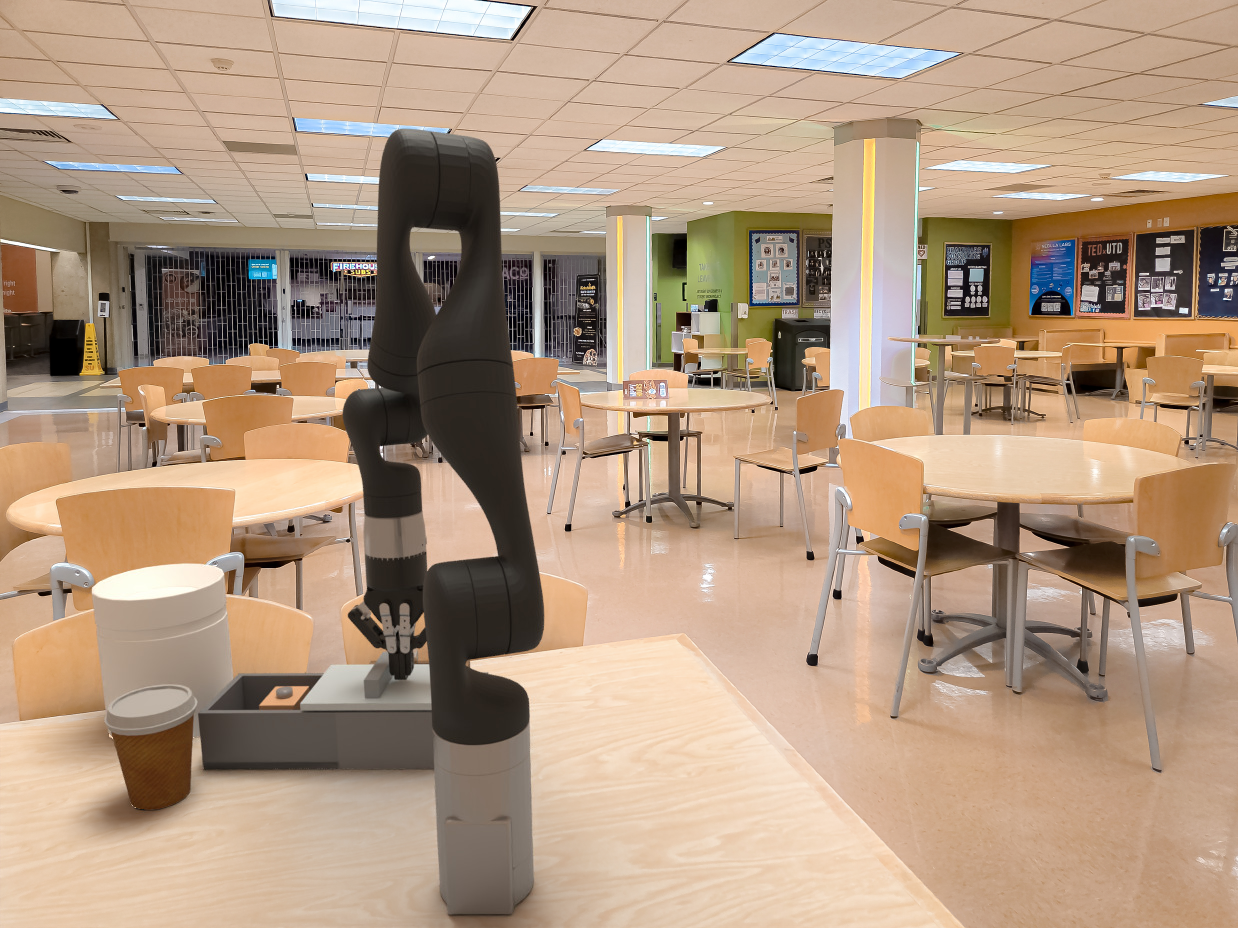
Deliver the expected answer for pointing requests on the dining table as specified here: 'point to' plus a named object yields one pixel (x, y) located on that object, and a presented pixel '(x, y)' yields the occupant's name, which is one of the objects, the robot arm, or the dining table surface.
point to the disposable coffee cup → (154, 743)
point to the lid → (370, 688)
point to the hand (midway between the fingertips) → (402, 677)
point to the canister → (164, 631)
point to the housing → (307, 732)
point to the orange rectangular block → (285, 698)
